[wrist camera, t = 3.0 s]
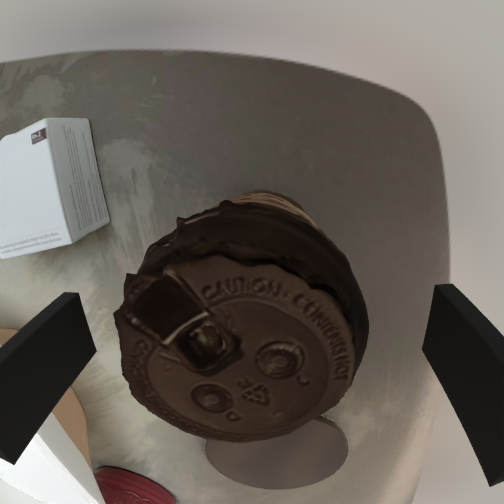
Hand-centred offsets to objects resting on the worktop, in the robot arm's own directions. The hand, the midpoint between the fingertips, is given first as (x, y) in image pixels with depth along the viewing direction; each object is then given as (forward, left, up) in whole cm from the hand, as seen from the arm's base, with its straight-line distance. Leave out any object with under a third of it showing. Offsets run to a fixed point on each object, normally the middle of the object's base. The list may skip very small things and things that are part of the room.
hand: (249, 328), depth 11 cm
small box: (+15, -5, -11) cm, 19 cm away
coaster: (0, +22, -10) cm, 24 cm away
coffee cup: (0, 0, -11) cm, 11 cm away
